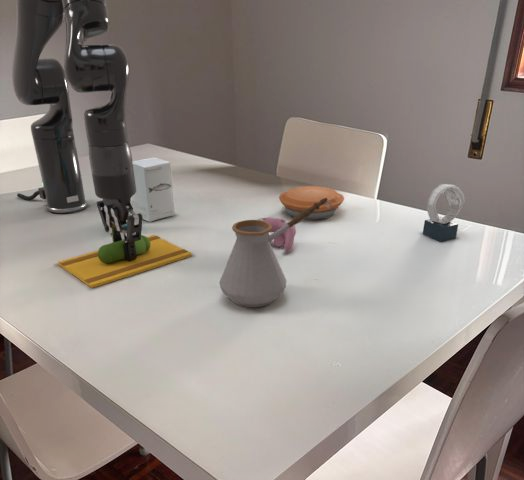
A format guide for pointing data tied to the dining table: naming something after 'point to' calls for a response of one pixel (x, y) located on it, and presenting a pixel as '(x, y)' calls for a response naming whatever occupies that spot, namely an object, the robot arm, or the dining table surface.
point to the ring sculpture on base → (443, 226)
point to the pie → (311, 201)
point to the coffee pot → (256, 262)
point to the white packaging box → (153, 189)
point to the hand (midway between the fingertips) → (125, 256)
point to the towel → (122, 263)
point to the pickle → (121, 250)
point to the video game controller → (284, 237)
